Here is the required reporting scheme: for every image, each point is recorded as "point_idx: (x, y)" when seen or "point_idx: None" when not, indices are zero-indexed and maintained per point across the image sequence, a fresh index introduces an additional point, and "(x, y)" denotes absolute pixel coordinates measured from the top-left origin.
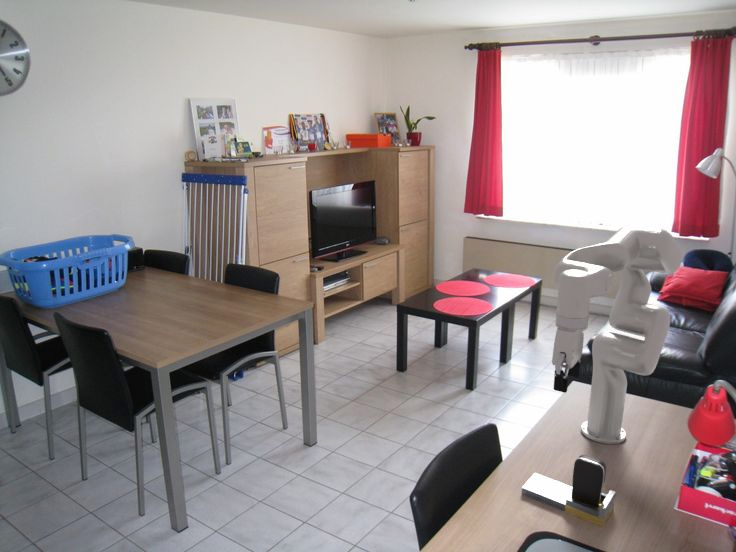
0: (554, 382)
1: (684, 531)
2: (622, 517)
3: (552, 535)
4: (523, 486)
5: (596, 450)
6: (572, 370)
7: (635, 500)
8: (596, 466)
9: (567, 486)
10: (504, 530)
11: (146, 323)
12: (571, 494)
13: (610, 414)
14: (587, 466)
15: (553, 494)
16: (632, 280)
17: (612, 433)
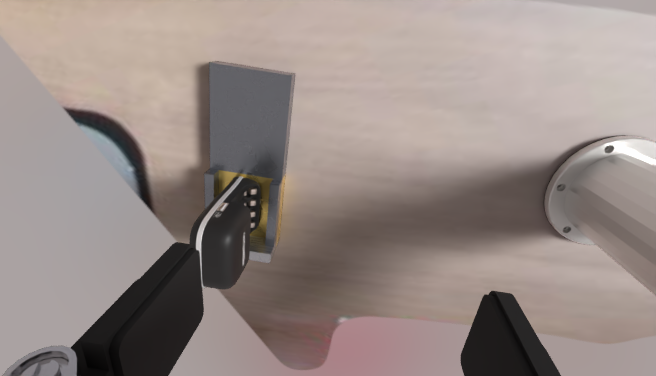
0: (141, 281)
1: (285, 328)
2: None
3: (133, 155)
4: (215, 64)
5: (503, 187)
6: (489, 372)
7: (331, 268)
8: None
9: (278, 160)
10: (75, 63)
11: None
12: (232, 179)
13: (614, 250)
14: None
15: (229, 138)
16: None
17: (576, 225)
